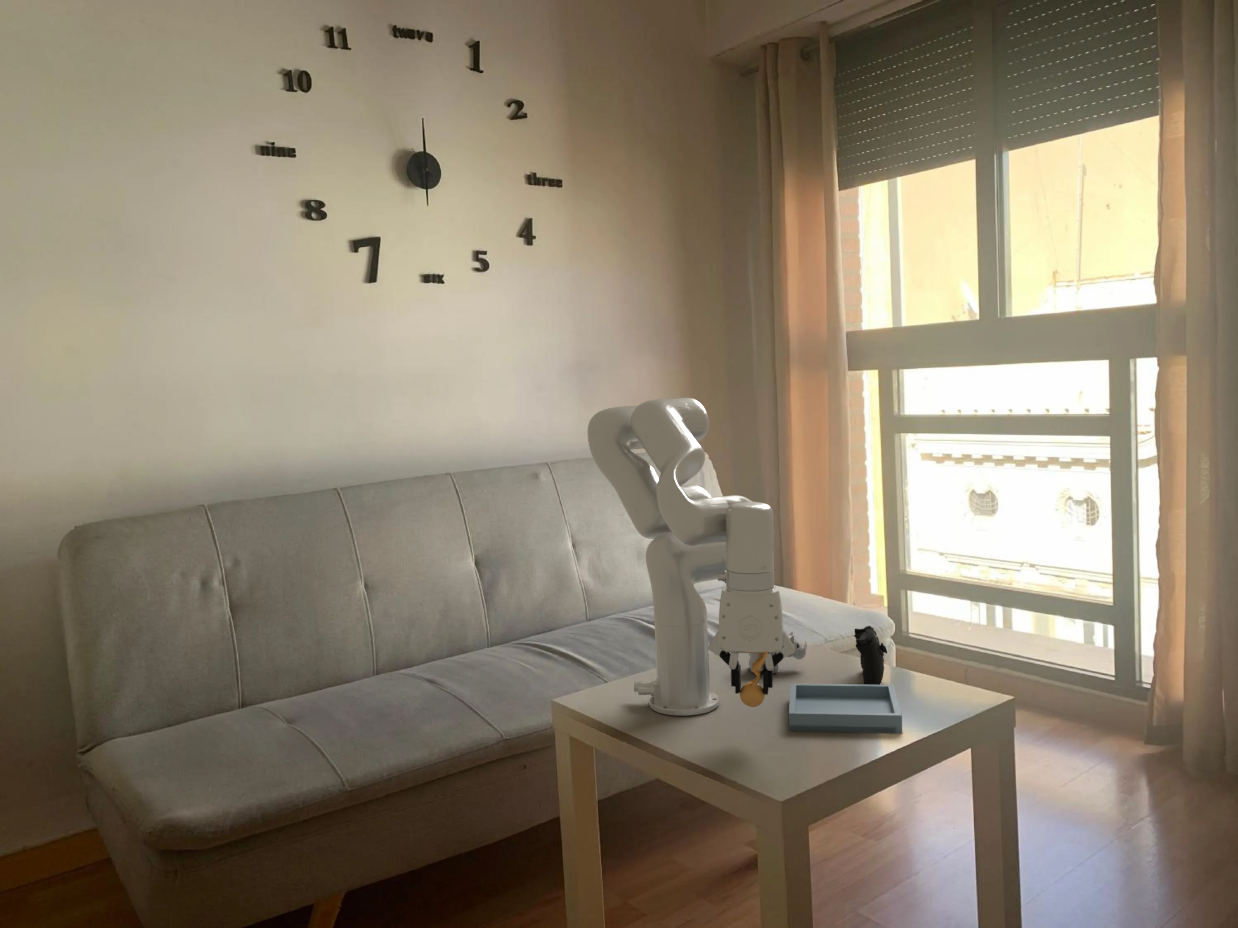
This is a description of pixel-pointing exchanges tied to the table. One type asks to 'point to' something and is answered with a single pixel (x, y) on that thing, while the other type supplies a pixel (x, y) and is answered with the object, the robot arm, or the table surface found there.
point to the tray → (844, 708)
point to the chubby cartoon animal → (798, 654)
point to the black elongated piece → (870, 655)
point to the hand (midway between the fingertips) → (752, 689)
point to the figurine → (754, 685)
